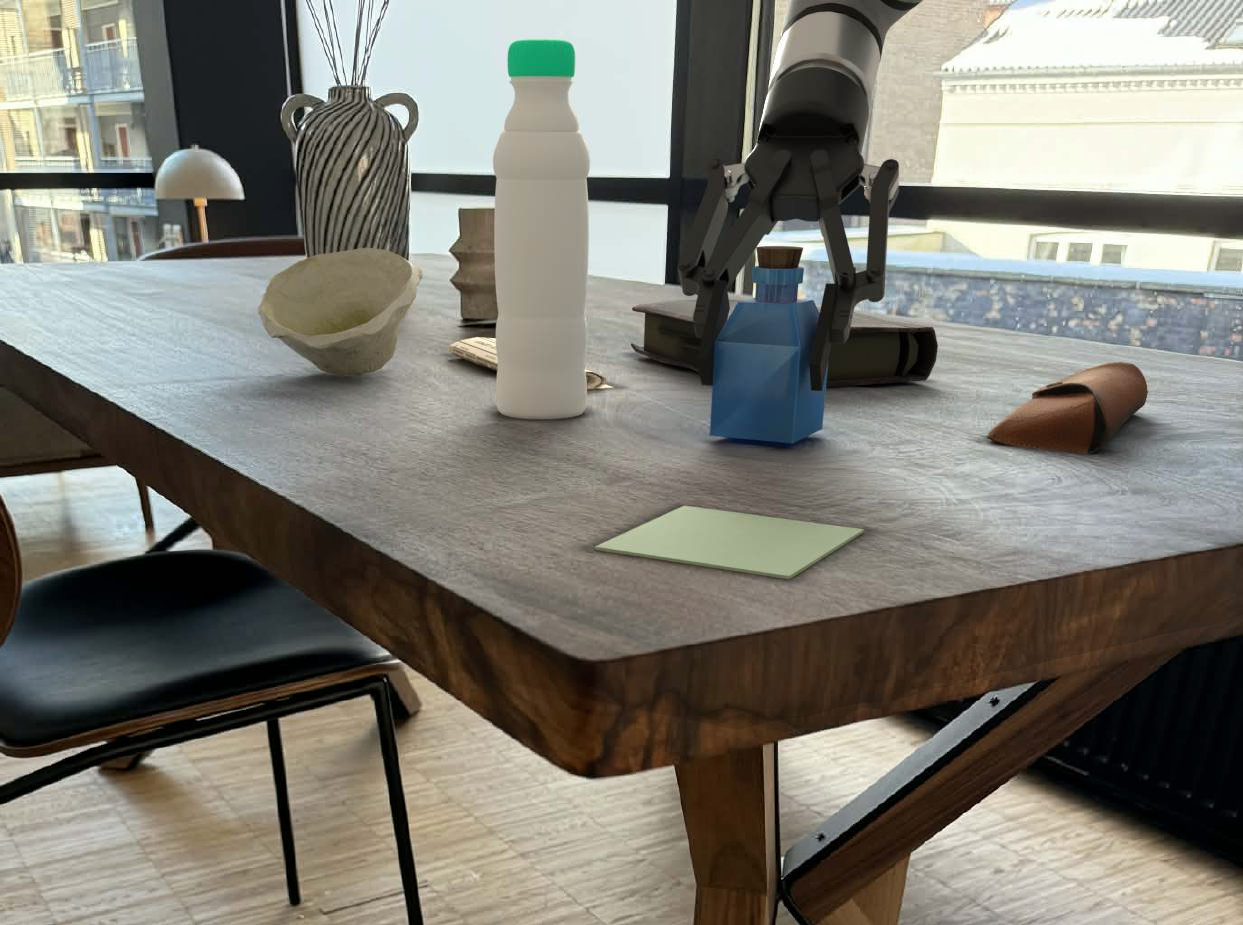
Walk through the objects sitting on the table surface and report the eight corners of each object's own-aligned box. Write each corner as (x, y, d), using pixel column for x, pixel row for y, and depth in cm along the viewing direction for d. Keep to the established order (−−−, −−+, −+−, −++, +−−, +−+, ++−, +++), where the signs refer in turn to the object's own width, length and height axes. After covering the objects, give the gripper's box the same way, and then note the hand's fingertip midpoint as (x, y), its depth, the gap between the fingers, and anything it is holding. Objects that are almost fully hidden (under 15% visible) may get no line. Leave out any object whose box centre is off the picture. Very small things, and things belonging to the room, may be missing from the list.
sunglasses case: (1033, 401, 115) (1090, 328, 111) (1102, 455, 115) (1163, 383, 110) (981, 439, 101) (1045, 357, 97) (1060, 501, 101) (1127, 420, 96)
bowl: (232, 379, 127) (219, 255, 122) (314, 359, 138) (305, 244, 134) (380, 390, 122) (374, 261, 117) (453, 368, 133) (449, 250, 128)
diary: (786, 348, 147) (791, 294, 144) (934, 383, 127) (942, 322, 124) (622, 356, 141) (624, 301, 138) (750, 396, 120) (755, 331, 118)
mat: (863, 536, 79) (864, 529, 79) (789, 584, 71) (789, 576, 71) (683, 512, 84) (684, 505, 84) (594, 554, 76) (594, 546, 76)
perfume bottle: (792, 443, 99) (807, 252, 93) (709, 435, 101) (719, 248, 96) (822, 429, 104) (838, 246, 98) (742, 422, 106) (753, 243, 100)
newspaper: (449, 358, 139) (448, 338, 138) (516, 354, 142) (516, 335, 141) (540, 395, 120) (540, 372, 119) (617, 390, 123) (617, 368, 122)
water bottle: (515, 425, 108) (512, 36, 96) (483, 410, 114) (477, 41, 102) (600, 419, 110) (608, 39, 98) (565, 405, 116) (568, 43, 104)
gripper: (957, 147, 104) (907, 417, 98) (690, 146, 109) (628, 403, 104) (962, 58, 97) (908, 344, 91) (676, 62, 102) (609, 332, 97)
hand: (759, 375), depth 98 cm, fingers closed on perfume bottle, 7 cm apart
